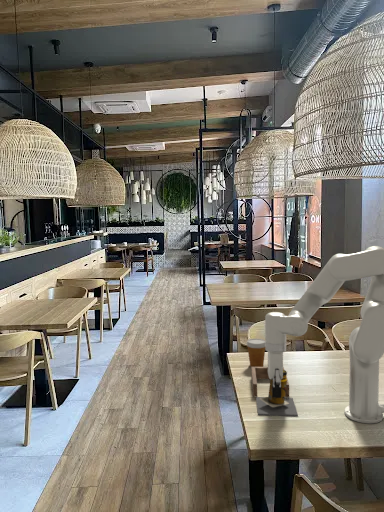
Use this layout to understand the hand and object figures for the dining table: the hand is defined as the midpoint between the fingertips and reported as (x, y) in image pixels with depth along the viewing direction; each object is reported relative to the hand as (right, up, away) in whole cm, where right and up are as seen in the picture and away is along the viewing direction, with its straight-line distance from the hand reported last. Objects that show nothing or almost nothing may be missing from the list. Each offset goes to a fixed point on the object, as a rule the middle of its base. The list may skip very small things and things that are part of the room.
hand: (275, 392), depth 154 cm
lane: (+1, -4, +18) cm, 19 cm away
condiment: (-1, -3, 0) cm, 3 cm away
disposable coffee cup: (0, -2, +45) cm, 45 cm away
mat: (0, -5, 0) cm, 5 cm away
